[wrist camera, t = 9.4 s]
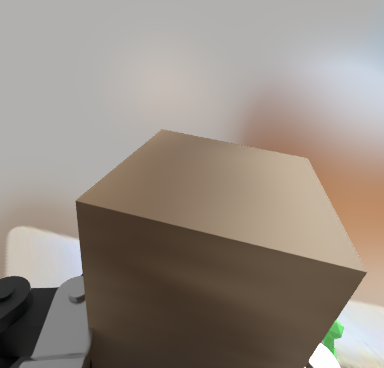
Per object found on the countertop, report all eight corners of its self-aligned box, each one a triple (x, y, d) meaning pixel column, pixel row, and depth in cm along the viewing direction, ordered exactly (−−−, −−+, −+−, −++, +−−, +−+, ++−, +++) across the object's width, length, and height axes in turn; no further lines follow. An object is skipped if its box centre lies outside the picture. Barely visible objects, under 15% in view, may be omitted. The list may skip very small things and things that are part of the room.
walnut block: (231, 357, 14) (307, 158, 8) (221, 494, 10) (367, 272, 4) (145, 332, 15) (162, 129, 9) (100, 449, 10) (75, 200, 5)
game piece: (293, 334, 34) (310, 305, 31) (324, 334, 34) (342, 306, 31) (308, 370, 30) (328, 341, 27) (342, 370, 31) (365, 342, 28)
